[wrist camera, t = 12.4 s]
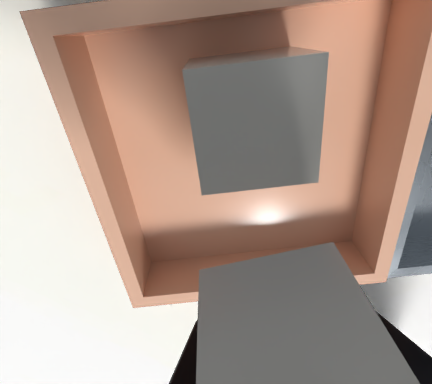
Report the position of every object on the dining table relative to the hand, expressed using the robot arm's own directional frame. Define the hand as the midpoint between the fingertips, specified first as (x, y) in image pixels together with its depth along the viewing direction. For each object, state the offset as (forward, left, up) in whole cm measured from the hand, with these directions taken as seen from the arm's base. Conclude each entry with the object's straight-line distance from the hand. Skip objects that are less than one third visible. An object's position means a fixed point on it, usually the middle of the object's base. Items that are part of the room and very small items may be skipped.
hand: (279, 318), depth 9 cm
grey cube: (0, 0, -1) cm, 1 cm away
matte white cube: (0, -5, -7) cm, 9 cm away
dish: (0, -3, -7) cm, 8 cm away
